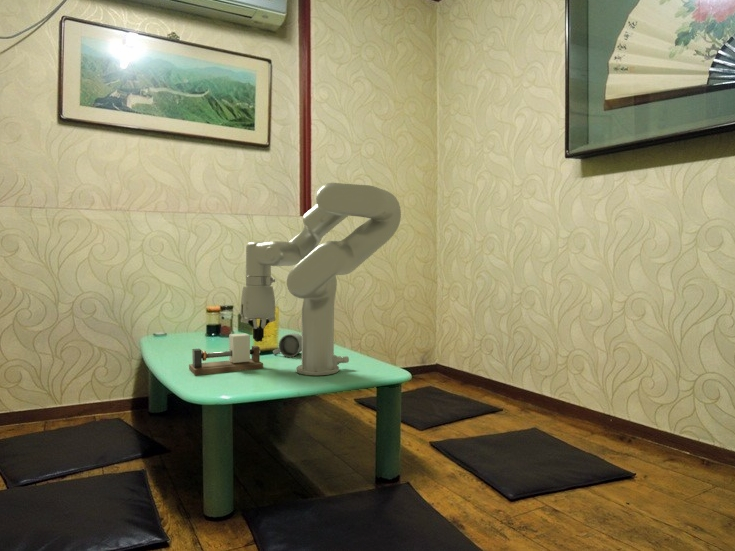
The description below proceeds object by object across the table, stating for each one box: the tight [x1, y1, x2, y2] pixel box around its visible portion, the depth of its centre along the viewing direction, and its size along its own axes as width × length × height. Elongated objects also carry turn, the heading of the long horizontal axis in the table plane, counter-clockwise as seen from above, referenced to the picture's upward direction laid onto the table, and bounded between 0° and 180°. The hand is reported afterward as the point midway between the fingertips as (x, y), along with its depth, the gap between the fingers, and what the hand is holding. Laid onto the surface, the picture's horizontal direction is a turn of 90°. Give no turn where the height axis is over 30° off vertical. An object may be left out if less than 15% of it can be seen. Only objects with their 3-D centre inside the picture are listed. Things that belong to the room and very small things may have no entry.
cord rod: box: [191, 348, 254, 368], centre depth 152 cm, size 18×3×5 cm, turn 119°
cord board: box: [188, 345, 264, 376], centre depth 153 cm, size 20×9×6 cm, turn 119°
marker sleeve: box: [228, 332, 251, 363], centre depth 154 cm, size 5×5×8 cm
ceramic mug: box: [272, 332, 302, 358], centre depth 176 cm, size 11×8×8 cm
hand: (258, 340), depth 157 cm, fingers closed
